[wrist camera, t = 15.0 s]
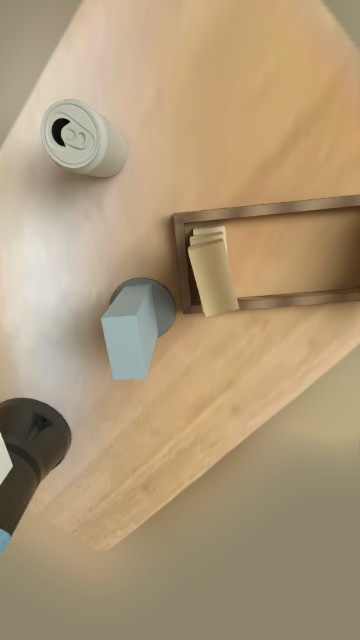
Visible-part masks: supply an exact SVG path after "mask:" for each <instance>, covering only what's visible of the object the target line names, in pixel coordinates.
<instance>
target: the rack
mask: <svg viewBox="0 0 360 640" xmlns="http://www.w3.org/2000/svg"><path fill="white" fill-rule="evenodd" d="M359 205H360V195H350V196H340V197H331V198H321V199H311V200H301V201H291V202H281V203H272V204H262V205H252V206H242V207H232V208H222V209H212V210H203V211H193V212H183V213H174V214H173V215H174V225H175V235H176V245H177V255H178V265H179V275H180V285H181V295H182V305H183V314H193V313H204V312H203V311H202V306H201V301H191V295H190V284H189V273H188V262H187V251H186V239H185V228H184V223H187V222H197V221H207V220H217V219H227V218H238V217H248V216H258V215H268V214H278V213H288V212H298V211H308V210H318V209H328V208H338V207H349V206H359ZM237 301H238V305H239V309H237V310H245V309H258V308H271V307H284V306H297V305H310V304H323V303H336V302H349V301H360V288H354V289H342V290H329V291H317V292H304V293H292V294H279V295H267V296H254V297H241V298H237Z"/></svg>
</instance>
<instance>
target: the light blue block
mask: <svg viewBox="0 0 360 640" xmlns="http://www.w3.org/2000/svg"><path fill="white" fill-rule="evenodd" d="M101 322H102V327H103V332H104V337H105V342H106V347H107V352H108V357H109V362H110V367H111V371H112V376H113V380H127V379H143V378H147V374H148V370H149V366H150V363H151V359H152V355H153V351H154V347H155V344H156V340H157V336H158V329H157V321H156V314H155V307H154V299H153V292H152V284H147V285H136V286H125V287H124V288H123V289H122V291H121V292H120V293H119V295H118V296H117V297H116V299H115V300H114V301H113V303H112V304H111V305H110V307H109V308H108V309H107V311H106V312H105V313H104V314H103V316H102V317H101Z"/></svg>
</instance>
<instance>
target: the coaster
mask: <svg viewBox="0 0 360 640" xmlns="http://www.w3.org/2000/svg"><path fill="white" fill-rule="evenodd" d="M147 284H152V292H153V299H154V307H155V314H156V321H157V329H158V336H157V338H158V337H160V336H162V335H163V334H164V333H166V332H167V331H168V329H169V328H170V327H171V325H172V323H173V321H174V317H175V304H174V300H173V298H172V296H171V294H170V293H169V291H168V290H167V289H166V288H165V287H164V286H163V285H161V284H160V283H158V282H156V281H154V280H151V279H148V278H134V279H131V280H128V281H126V282H124V283H123V284H121V285H120V286H119V287H118V288H117V289H116V290H115V292H114V293H113V296H112V298H111V301H110V305H111V304H112V303H113V301H114V300H115V299H116V297H117V296H118V295H119V293H120V292H121V291H122V289H123V288H124V287H125V286H136V285H147Z"/></svg>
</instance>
